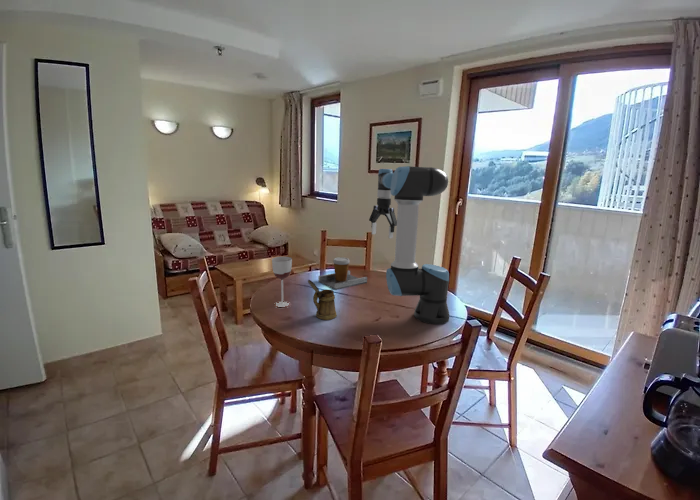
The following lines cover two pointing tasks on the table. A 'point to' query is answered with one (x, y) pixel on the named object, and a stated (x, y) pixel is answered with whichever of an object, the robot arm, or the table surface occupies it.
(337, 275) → the disposable coffee cup
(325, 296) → the wooden mug
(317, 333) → the table surface
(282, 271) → the wineglass
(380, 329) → the table surface
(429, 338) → the table surface
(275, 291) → the table surface
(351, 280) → the tray
